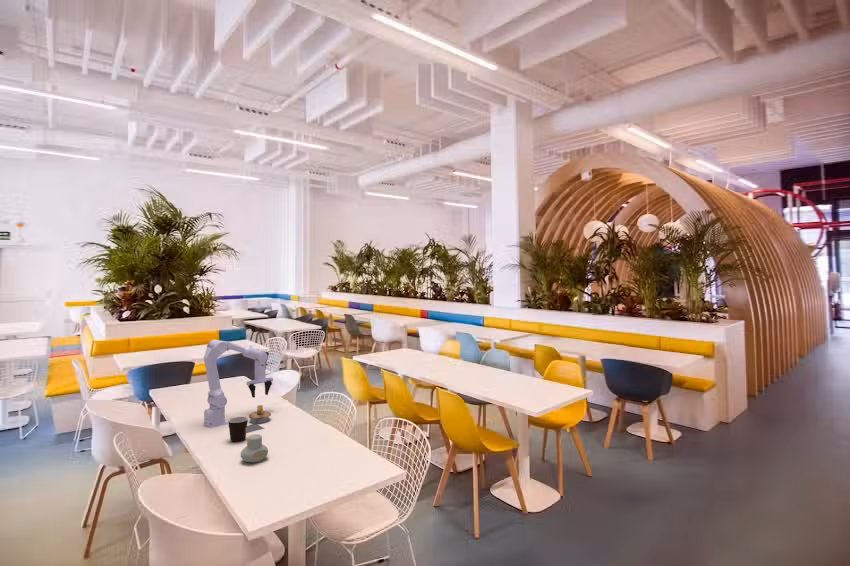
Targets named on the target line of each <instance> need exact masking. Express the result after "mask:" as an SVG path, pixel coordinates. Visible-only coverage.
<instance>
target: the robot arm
mask: <svg viewBox="0 0 850 566" xmlns="http://www.w3.org/2000/svg"><path fill="white" fill-rule="evenodd" d="M205 346H206V349H205V352H204V353H205V354H204V355H203V362H204V368H205V373H206V377H207V384H208V388H209V391H208V392H207V399H206V400H207V403H208V404H209V408H207V409H205V410H204V413H203V425H204V426H205V427H207V428H208V429H211V428H216V427H219V426H225V425H229V423H228V421H226V416H225V415H226V413H225V412H226V405H227V403H228V399H227V397H226V395H225V392H224V391H223V389H222V387H221V381H220V376H219V371H218V365H217V360H218V358H219V357H220V356H222V355H223V354H224V353H225V352H229V351H230V350H231V351H235V352H239V353H241V354H242V356H243V357H246V358H248V359H251V360H253V361H254V379H252V380H247V381H246V386H248V387H247V388H249V391H250V393H251V397H252V398H255V397H256V387H257V386H256V385H258V384H262V383H264V395H266V396H269V392H270V389H271V386H272V385H273V382H274V377H266V362H267V359H268V358H269V357H268V354H267V352H266V351H263V350H260V348H254V347H253V345H245V346H242V345H239V344H236V343H234V342H231V341H225V340H218V339H215V338H213V339H211V340H210V341H209V342H208V343H207V344H206V345H205Z"/></svg>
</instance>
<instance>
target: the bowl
mask: <svg viewBox="0 0 850 566" xmlns="http://www.w3.org/2000/svg"><path fill="white" fill-rule="evenodd" d="M269 417H270V416H269ZM269 417H267V418H263V419H251V418H249V421H250V423H252V424H263V423H267V422H268V421H269V419H270V418H269Z"/></svg>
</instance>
